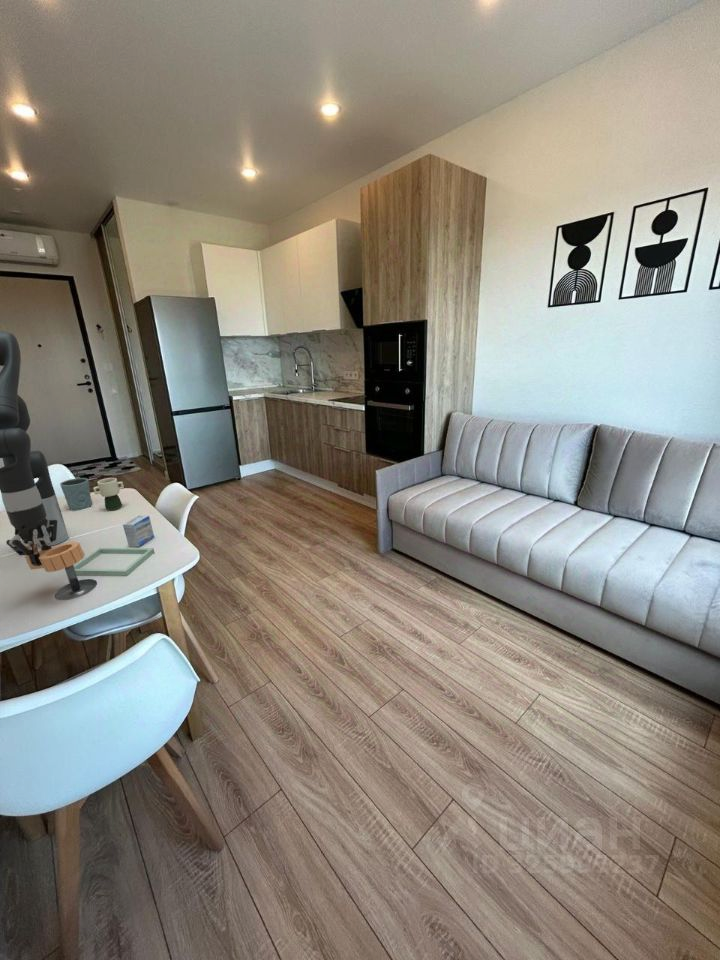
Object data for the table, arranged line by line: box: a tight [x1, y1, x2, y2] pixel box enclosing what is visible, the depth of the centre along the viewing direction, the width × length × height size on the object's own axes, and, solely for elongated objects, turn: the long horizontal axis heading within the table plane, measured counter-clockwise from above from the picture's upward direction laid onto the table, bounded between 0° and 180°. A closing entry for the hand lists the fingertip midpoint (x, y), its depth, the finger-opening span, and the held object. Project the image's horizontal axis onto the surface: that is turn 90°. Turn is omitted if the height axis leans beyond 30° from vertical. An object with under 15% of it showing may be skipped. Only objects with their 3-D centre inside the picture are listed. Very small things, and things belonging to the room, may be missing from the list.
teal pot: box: [59, 477, 93, 512], centre depth 171 cm, size 10×10×12 cm
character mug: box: [93, 477, 125, 511], centre depth 167 cm, size 11×7×13 cm, turn 128°
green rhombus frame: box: [73, 547, 156, 577], centre depth 123 cm, size 19×14×2 cm
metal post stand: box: [54, 564, 98, 601], centre depth 108 cm, size 10×10×12 cm
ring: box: [24, 541, 86, 573], centre depth 107 cm, size 14×9×4 cm, turn 85°
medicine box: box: [122, 514, 155, 548], centre depth 137 cm, size 8×4×9 cm, turn 168°
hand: (43, 561), depth 108 cm, fingers closed on ring, 3 cm apart
